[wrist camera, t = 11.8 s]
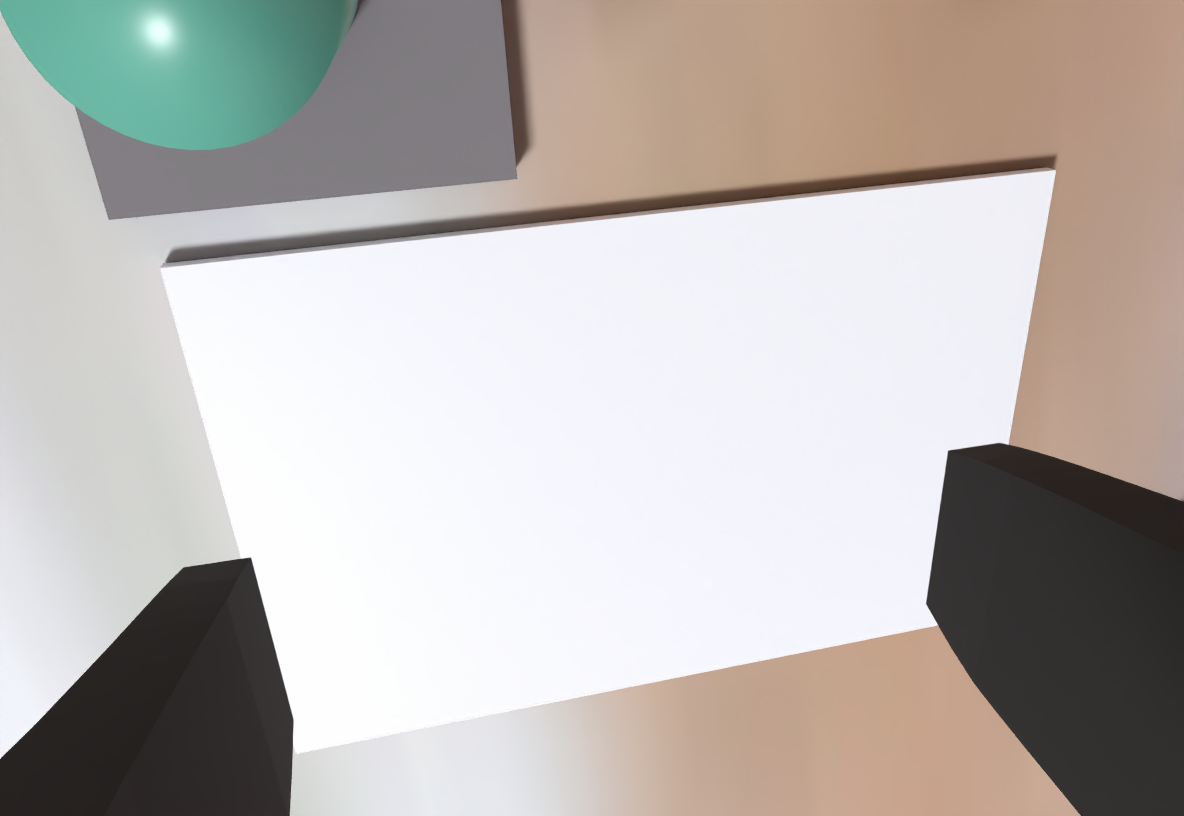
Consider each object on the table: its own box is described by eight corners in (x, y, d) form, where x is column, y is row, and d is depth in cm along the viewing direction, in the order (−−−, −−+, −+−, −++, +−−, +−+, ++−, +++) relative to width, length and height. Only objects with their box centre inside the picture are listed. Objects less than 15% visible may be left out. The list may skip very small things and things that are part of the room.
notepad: (1046, 167, 19) (1056, 170, 19) (971, 610, 24) (978, 617, 24) (163, 263, 16) (159, 268, 16) (297, 744, 21) (295, 753, 21)
